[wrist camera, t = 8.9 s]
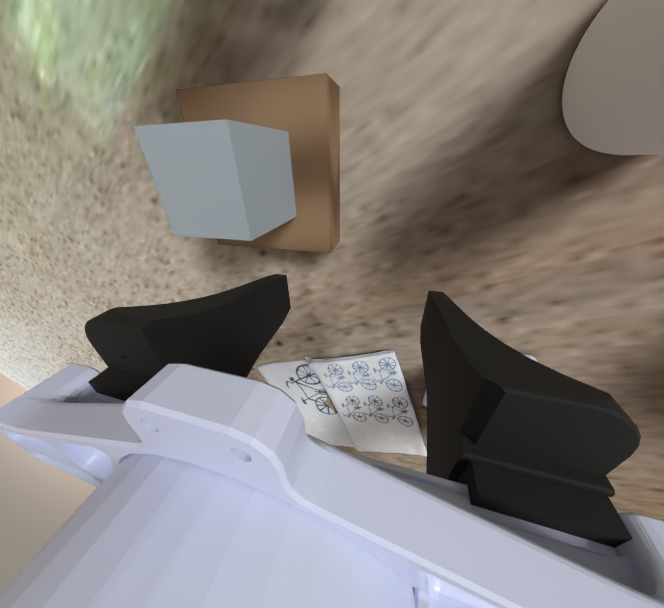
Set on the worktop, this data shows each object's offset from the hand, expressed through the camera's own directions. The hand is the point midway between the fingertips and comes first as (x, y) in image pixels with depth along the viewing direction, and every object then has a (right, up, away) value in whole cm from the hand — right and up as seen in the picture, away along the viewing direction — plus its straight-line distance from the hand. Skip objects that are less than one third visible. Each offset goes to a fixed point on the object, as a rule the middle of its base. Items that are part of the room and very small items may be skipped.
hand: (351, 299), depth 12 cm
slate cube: (-6, +9, +4) cm, 11 cm away
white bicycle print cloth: (0, -14, +21) cm, 25 cm away
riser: (-5, +10, +7) cm, 13 cm away
